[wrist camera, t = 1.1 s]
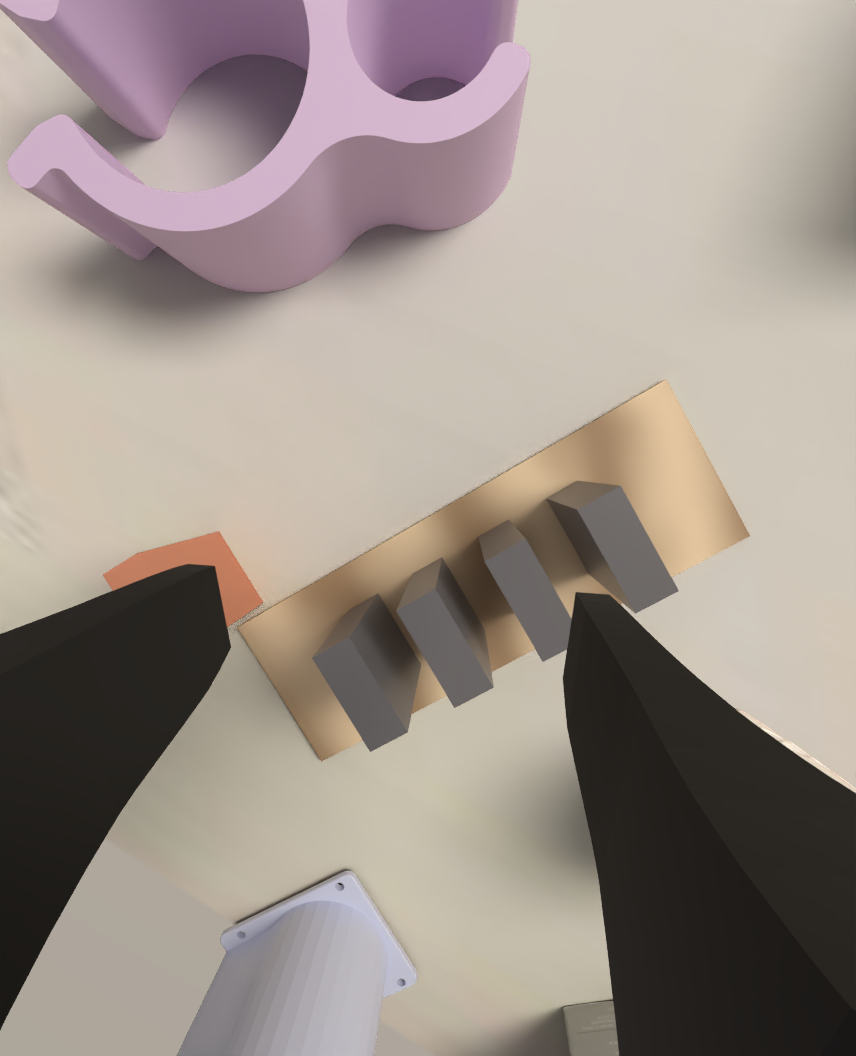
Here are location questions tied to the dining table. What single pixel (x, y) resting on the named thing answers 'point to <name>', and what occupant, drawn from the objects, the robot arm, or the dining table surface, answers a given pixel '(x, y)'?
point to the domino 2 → (447, 632)
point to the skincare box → (591, 1029)
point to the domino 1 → (371, 672)
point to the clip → (310, 141)
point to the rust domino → (199, 551)
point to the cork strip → (520, 495)
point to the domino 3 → (527, 589)
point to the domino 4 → (612, 543)
